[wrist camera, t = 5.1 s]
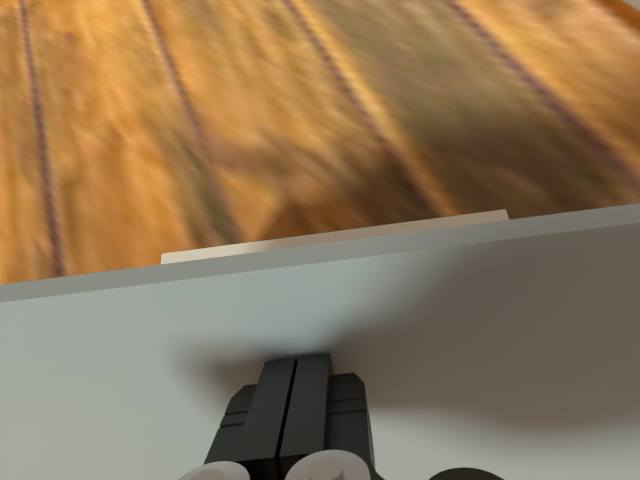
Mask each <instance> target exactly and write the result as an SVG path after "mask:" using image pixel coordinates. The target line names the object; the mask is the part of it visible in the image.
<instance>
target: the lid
mask: <svg viewBox="0 0 640 480" xmlns="http://www.w3.org/2000/svg"><path fill="white" fill-rule="evenodd" d="M324 354H330V355H331V360H332V364H333V371H334V375H336V374H345V373H353V372H354V373H355V374H356V375H357V376H358V377H359V378H360V379H361V380H362V381H363V382H364V384H365V391H366V398H367V405H368V411H369V418H370V425H371V432H372V438H373V447H374V458H375V468H376V472H377V473H378V474H379V475H380V476H381V477H382V478H384V479H385V480H429V479H430V478H431V477H432V476H434V475H436V474H437V473H439V472H442V471H444V470H448V469H452V468H461V467H468V468H476V469H481V470H485V471H488V472H490V473H493V474H495V475H497V476H499V477H501V478H502V479H504V480H640V203H636V204H628V205H620V206H613V207H605V208H597V209H589V210H581V211H574V212H566V213H558V214H550V215H542V216H535V217H527V218H519V219H511V220H503V221H496V222H488V223H480V224H472V225H464V226H457V227H449V228H441V229H433V230H425V231H418V232H410V233H402V234H394V235H386V236H379V237H371V238H363V239H355V240H347V241H340V242H332V243H324V244H316V245H308V246H301V247H293V248H285V249H277V250H269V251H262V252H254V253H246V254H238V255H230V256H223V257H215V258H207V259H199V260H191V261H184V262H176V263H168V264H160V265H152V266H145V267H137V268H129V269H121V270H113V271H106V272H98V273H90V274H82V275H74V276H67V277H59V278H51V279H43V280H35V281H28V282H20V283H12V284H4V285H0V480H179V479H180V478H181V477H182V476H184V475H185V474H186V473H188V472H190V471H191V470H193V469H195V468H197V467H200V466H202V465H203V464H204V461H205V459H206V457H207V454H208V452H209V449H210V447H211V445H212V442H213V440H214V437H215V435H216V433H217V430H218V428H220V423H221V421H222V418H223V416H225V411H226V409H227V406H228V404H229V401H230V399H231V398H232V397H233V396H234V395H235V394H236V393H237V392H238V391H239V390H240V389H241V388H242V387H243V386H244V385H252V384H258V381H259V378H260V375H261V372H262V369H263V366H264V363H265V362H266V361H275V360H283V359H291V358H297V360H298V359H299V357H307V356H315V355H324Z"/></svg>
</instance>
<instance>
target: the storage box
mask: <svg viewBox="0 0 640 480" xmlns="http://www.w3.org/2000/svg"><path fill="white" fill-rule="evenodd" d="M503 220H509V217H508V214H507V211H506V209H503V210H495V211H488V212H480V213H472V214H465V215H457V216H449V217H442V218H434V219H426V220H418V221H411V222H403V223H395V224H388V225H380V226H372V227H365V228H357V229H349V230H342V231H334V232H326V233H319V234H311V235H303V236H295V237H288V238H280V239H272V240H265V241H257V242H249V243H242V244H234V245H226V246H219V247H211V248H203V249H195V250H188V251H180V252H172V253H165V254H162V257H161V264H168V263H176V262H184V261H191V260H199V259H207V258H215V257H223V256H230V255H238V254H246V253H254V252H262V251H269V250H277V249H285V248H293V247H301V246H308V245H316V244H324V243H332V242H340V241H347V240H355V239H363V238H371V237H379V236H386V235H394V234H402V233H410V232H418V231H425V230H433V229H441V228H449V227H457V226H464V225H472V224H480V223H488V222H496V221H503Z"/></svg>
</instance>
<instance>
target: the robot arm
mask: <svg viewBox="0 0 640 480" xmlns="http://www.w3.org/2000/svg"><path fill="white" fill-rule="evenodd" d="M179 480H385V479H384V478H382V477H381V476H380V475H379V474H378V473H377V472H376V468H375V458H374V447H373V438H372V432H371V425H370V418H369V411H368V405H367V398H366V391H365V384H364V382H363V381H362V380H361V379H360V378H359V377H358V376H357V375H356V374H355V373H354V372H353V373H345V374H336V375H334V371H333V364H332V360H331V355H330V354H324V355H315V356H307V357H299V359H298V360H297V358H291V359H283V360H275V361H266V362H265V363H264V366H263V369H262V372H261V375H260V378H259V381H258V384H252V385H244V386H243V387H242V388H241V389H240V390H239V391H238V392H237V393H236V394H235V395H234V396H233V397H232V398H231V399H230V401H229V404H228V406H227V409H226V411H225V416H223V418H222V421H221V423H220V428H218V430H217V433H216V435H215V437H214V440H213V442H212V445H211V447H210V449H209V452H208V454H207V457H206V459H205V461H204V464H203V465H202V466H200V467H197V468H195V469H193V470H191V471H190V472H188V473H186V474H185V475H184V476H182V477H181V478H180V479H179ZM429 480H504V479H502V478H501V477H499V476H497V475H495V474H493V473H490V472H488V471H485V470H481V469H476V468H468V467H461V468H452V469H448V470H444V471H442V472H439V473H437V474H436V475H434V476H432V477H431V478H430V479H429Z"/></svg>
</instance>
